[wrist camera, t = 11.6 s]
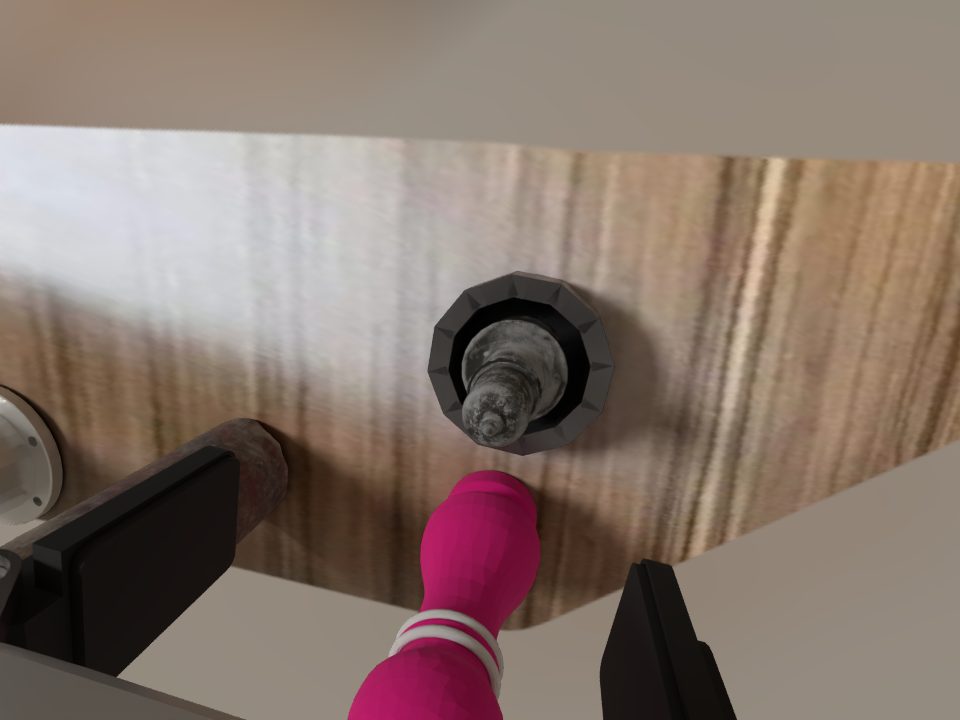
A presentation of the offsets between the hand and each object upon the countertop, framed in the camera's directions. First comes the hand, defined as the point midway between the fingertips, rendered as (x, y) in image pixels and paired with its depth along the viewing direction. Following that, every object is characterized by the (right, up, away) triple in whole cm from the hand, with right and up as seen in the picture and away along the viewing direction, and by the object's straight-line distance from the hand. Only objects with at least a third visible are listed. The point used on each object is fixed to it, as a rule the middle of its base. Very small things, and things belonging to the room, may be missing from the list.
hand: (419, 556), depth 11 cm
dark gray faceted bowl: (+4, +5, +19) cm, 20 cm away
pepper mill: (+2, -6, +22) cm, 23 cm away
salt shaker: (+4, +5, +19) cm, 20 cm away
